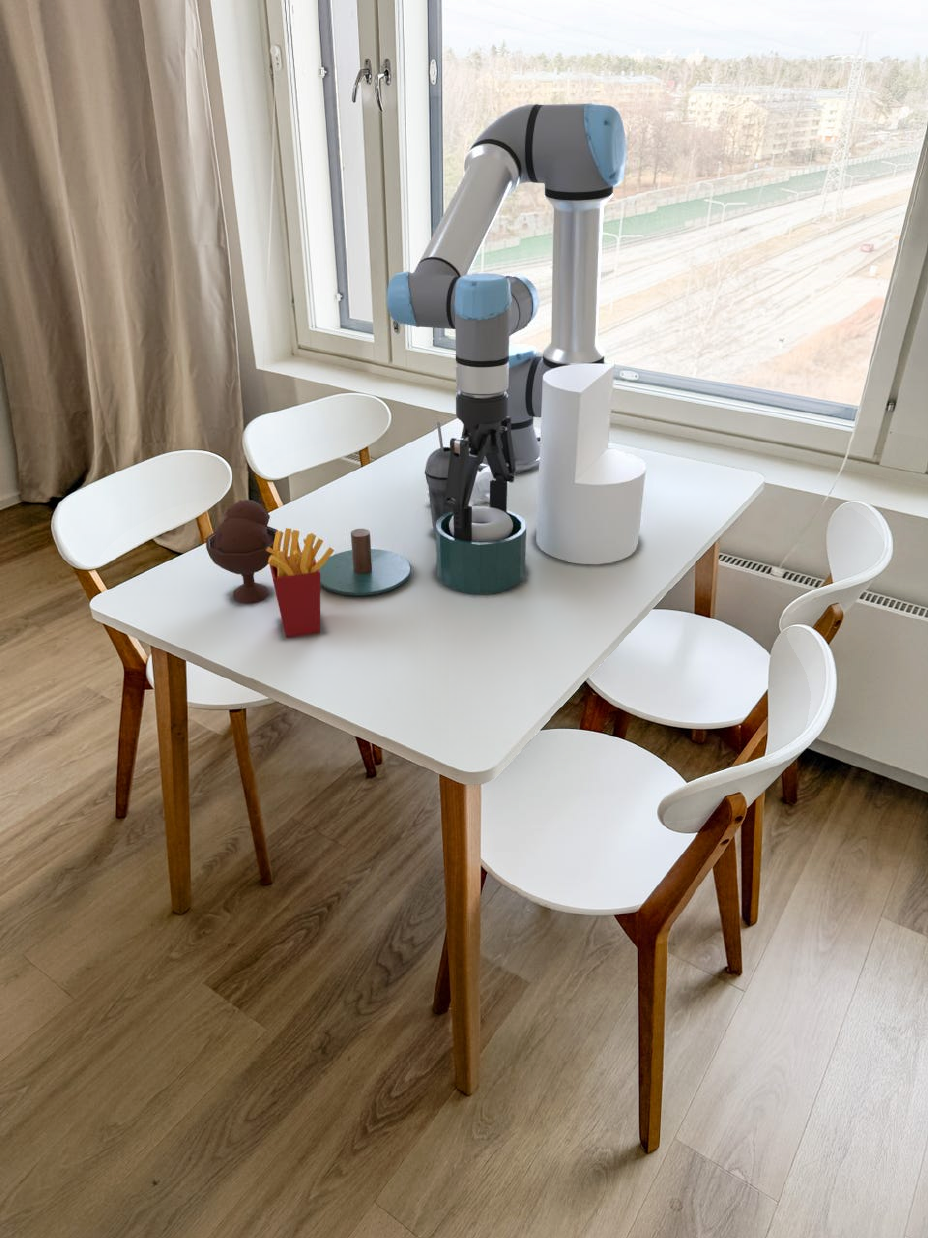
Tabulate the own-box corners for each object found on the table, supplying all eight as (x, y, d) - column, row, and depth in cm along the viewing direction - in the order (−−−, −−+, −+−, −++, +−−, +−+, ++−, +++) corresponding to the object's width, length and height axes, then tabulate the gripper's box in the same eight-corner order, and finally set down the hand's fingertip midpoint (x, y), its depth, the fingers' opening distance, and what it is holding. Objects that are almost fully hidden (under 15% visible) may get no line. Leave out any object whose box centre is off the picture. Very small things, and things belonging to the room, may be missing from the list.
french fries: (279, 642, 123) (267, 545, 115) (273, 613, 129) (261, 520, 122) (342, 632, 125) (333, 537, 117) (332, 605, 132) (324, 513, 124)
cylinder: (520, 552, 147) (526, 385, 132) (556, 513, 160) (564, 358, 146) (620, 572, 140) (637, 399, 126) (649, 530, 154) (667, 370, 139)
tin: (465, 546, 149) (465, 499, 144) (540, 566, 142) (542, 518, 138) (419, 579, 138) (417, 530, 134) (497, 603, 132) (498, 552, 128)
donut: (461, 519, 142) (439, 543, 134) (462, 499, 141) (439, 522, 133) (520, 528, 139) (501, 553, 131) (521, 507, 138) (502, 532, 130)
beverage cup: (463, 544, 149) (462, 430, 139) (421, 541, 150) (418, 428, 140) (471, 526, 155) (471, 416, 145) (431, 523, 157) (428, 414, 146)
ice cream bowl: (224, 577, 139) (209, 489, 132) (293, 578, 139) (283, 490, 131) (204, 611, 130) (188, 518, 122) (279, 612, 130) (267, 519, 122)
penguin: (433, 524, 163) (501, 511, 155) (417, 482, 160) (486, 465, 152) (455, 508, 170) (521, 494, 161) (440, 466, 167) (507, 450, 159)
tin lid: (355, 547, 148) (352, 505, 145) (428, 568, 142) (427, 525, 138) (296, 583, 138) (291, 539, 134) (372, 608, 131) (369, 562, 127)
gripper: (498, 369, 135) (496, 502, 147) (415, 406, 119) (420, 554, 130) (541, 375, 132) (535, 512, 143) (462, 415, 115) (463, 566, 127)
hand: (480, 532), depth 137 cm, fingers closed on donut, 10 cm apart
